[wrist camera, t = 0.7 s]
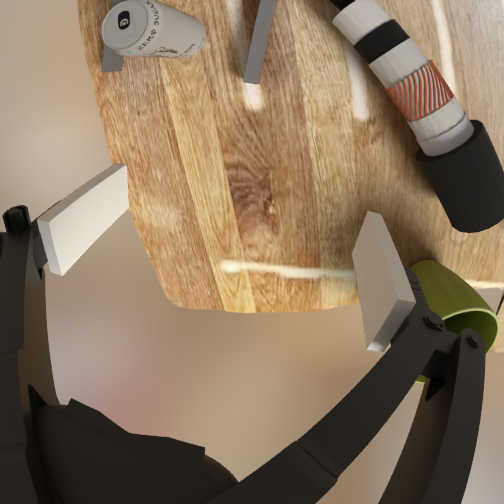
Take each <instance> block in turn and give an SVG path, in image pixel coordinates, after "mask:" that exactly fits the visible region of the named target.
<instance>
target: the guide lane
mask: <svg viewBox="0 0 504 504" xmlns="http://www.w3.org/2000/svg"><path fill="white" fill-rule="evenodd" d="M124 1H128V0H112V5H111V9H112V8H113V7H114V6H116V5H117V4H119V3H121V2H124ZM277 1H278V0H260V5H259V9H258V13H257V18H256V22H255V27H254V31H253V36H252V41H251V45H250V50H249V55H248V60H247V65H246V69H245V74H244V79H243V82H246V83H252V84H259V83H260V78H261V74H262V69H263V64H264V59H265V55H266V50H267V46H268V41H269V36H270V32H271V27H272V23H273V19H274V14H275V10H276V5H277ZM122 63H123V56H122V55H119V54H117V53H115V52H114V51H113V50H112V49H111V48H110V47H108V46H107V45H106V44H105V45H104V52H103V60H102V69H101V72H112V71H122Z"/></svg>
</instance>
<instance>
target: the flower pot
mask: <svg viewBox="0 0 504 504" xmlns="http://www.w3.org/2000/svg"><path fill="white" fill-rule="evenodd" d="M410 268H411V269H412V271H413V272H414V273H415V274H416V276H417V278H418V281H419V285H421V288H422V291H423V293H424V296H425V298H426V301H427V304H428V306H429V309H430V310H431V311H433V312H435V313H436V314H438V315H439V316H440V317H441V318H442V320H443V321H444V323H445V327H446V330H448V331H450V332H452V333H454V334H457V335H459V334H460V333H461V332H462V330H464V329H465V328H470V329H473V330H475V331H476V332H478V333H479V334H480V335H481V336H482V338H483V340H484V342H485V347H486V350H485V356H486V354H487V353H488V352H489V351H490V349H491V348H492V346H493V344H494V343H495V341H496V339H497V336H498V333H499V320H498V317H497V316H496V315H495V313H494V312H493V310H492V309H491V308H490V307H489V306H488V304H487V303H486V302H485V301H484V300H483V298H482V297H481V296H480V295H479V294H478V293H477V292H476V291H475V290H474V289H473V288H472V287H471V286H470V285H469V284H468V283H466V282H465V281H464V280H463V279H462V278H460V277H459V276H458V275H457V274H455V273H454V272H452V271H451V270H449V269H448V268H446V267H445V266H443V265H441V264H440V263H438V262H436V261H433V260H421V261H418V262H416V263H415V264H413V265H412V266H411V267H410ZM425 380H426V377H424V376H422V375H419V376H418V378H417V380H416V381H415V382H418V383H425Z"/></svg>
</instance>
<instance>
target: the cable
mask: <svg viewBox="0 0 504 504" xmlns="http://www.w3.org/2000/svg"><path fill="white" fill-rule="evenodd" d="M330 1H331V2H332V3H333V4H334V5H335V6H336V7H337V8H338V9H339V10H340V11H341V12H340V13H339V14H338V15H337V16H336V17H335V18H334V19H333V21H332V23H333V24H334V25H335V26H336V27H337V28H338V29H339V30H340V31H341V32H342V33H343V34H344V35H345V37H346V38H347V39H348V40H349V41H350V42H351V43H352V44H353V45H354V46H353V47H354V48H355V49H356V50H357V51H358V53H359V54H360V55H361V56H362V57H363V58H364V60H365V61H366V62H367V63H368V64H369V65H368V66H369V67H370V69H371V70H372V71H373V72H374V74H375V75H376V76H377V77H378V79H379V80H380V81H381V83H382V84H383V85H384V87H385V89H384V90H385V91H386V93H387V94H388V95H389V97H390V98H391V99H392V101H393V102H394V103H395V105H396V106H397V108H398V109H399V110H400V112H401V114H402V115H403V116H404V118H405V119H406V121H407V123H408V124H409V126H410V127H411V129H412V130H413V132H414V134H415V135H416V140H417V141H418V143H419V145H420V146H421V148H420V149H419V150H418V152H417V157H416V159H417V161H418V162H419V164H420V166H421V168H422V169H423V171H424V173H425V174H426V176H427V178H428V180H429V182H430V183H431V185H432V187H433V189H434V191H435V193H436V194H437V196H438V198H439V200H440V202H441V204H442V206H443V208H444V210H445V212H446V214H447V216H448V218H449V220H450V223H451V225H452V227H454V228H455V229H457V230H458V231H459V232H465V233H474V232H480V231H483V230H486V229H489V228H491V227H492V226H494V225H496V224H498V223H499V222H500V221H501V220H502V219H503V218H504V171H503V169H502V166H501V163H500V161H499V158H498V156H497V154H496V151H495V149H494V147H493V144H492V142H491V140H490V138H489V136H488V133H487V131H486V129H485V127H484V125H483V123H482V122H480V121H478V120H469V118H468V116H467V114H466V112H465V111H463V109H462V107H461V106H460V104H459V102H458V100H457V99H456V97H455V95H454V94H453V93H452V91H451V90H450V88H449V86H448V85H447V83H446V82H445V80H444V79H443V77H442V76H441V74H440V73H439V71H438V70H437V68H436V67H435V65H434V63H433V61H432V60H428V59H427V58H426V56H425V55H424V54H423V52H422V51H421V50H420V48H419V47H418V46H417V44H416V43H415V42H414V41H413V39H412V38H410V37H409V36H408V35H407V34H406V32H405V31H404V30H403V29H402V28H401V26H400V25H399V24H398V23H397V22H396V21H395V20H394V19H392V18H391V17H390V16H389V15H388V14H387V13H386V12H385V10H384V9H383V8H382V7H381V6H380V5H379V4H378V3H377V2H376V1H375V0H356V1H355V0H330Z"/></svg>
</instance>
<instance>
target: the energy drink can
mask: <svg viewBox="0 0 504 504" xmlns="http://www.w3.org/2000/svg"><path fill="white" fill-rule="evenodd" d="M101 34H102V38H103V41H104V42H105V44H106V45H107V46H108V47H110V48H111V49H112V50H113V51H114V52H115V53H117V54H119V55H122V56H140V57H163V58H177V59H183V58H188V57H190V56H193V55H194V54H196V53H197V52H198V51H199V50H200V49H201V48H202V46H203V44H204V42H205V38H206V31H205V28H204V26H203V24H202V23H201V22H200V21H199V20H198V19H196V18H194V17H192V16H190V15H187V14H185V13H183V12H181V11H178V10H176V9H174V8H171V7H169V6H167V5H164V4H162V3H159V2H157V1H154V0H128V1H124V2H121V3H119V4H117V5H116V6H114V7H113V8H112V9H111V10H110V11H109V12H108V14H107V15H106V17H105V18H104V21H103V23H102V28H101Z"/></svg>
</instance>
